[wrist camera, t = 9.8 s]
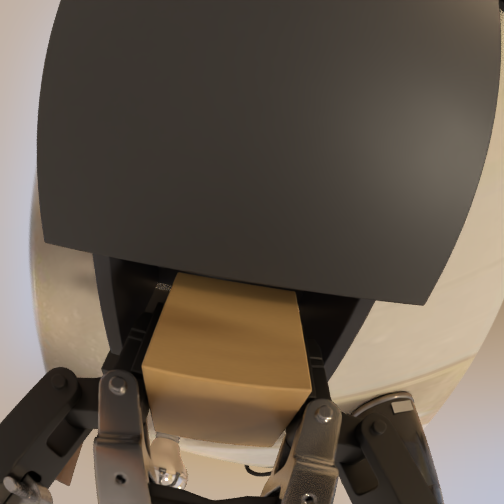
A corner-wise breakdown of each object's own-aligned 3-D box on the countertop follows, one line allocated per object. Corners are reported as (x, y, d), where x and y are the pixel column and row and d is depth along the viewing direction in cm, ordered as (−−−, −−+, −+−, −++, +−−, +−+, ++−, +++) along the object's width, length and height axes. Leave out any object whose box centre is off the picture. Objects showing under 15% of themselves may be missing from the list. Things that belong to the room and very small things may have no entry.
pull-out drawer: (290, 359, 23) (298, 440, 16) (146, 336, 22) (118, 413, 15) (371, 130, 14) (456, 156, 7) (153, 88, 13) (71, 81, 6)
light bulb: (188, 414, 30) (175, 497, 20) (199, 434, 34) (191, 505, 23) (139, 408, 31) (119, 484, 20) (155, 429, 34) (141, 496, 23)
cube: (269, 363, 13) (271, 447, 9) (175, 348, 12) (154, 431, 8) (296, 290, 10) (313, 390, 7) (177, 271, 10) (140, 366, 6)
